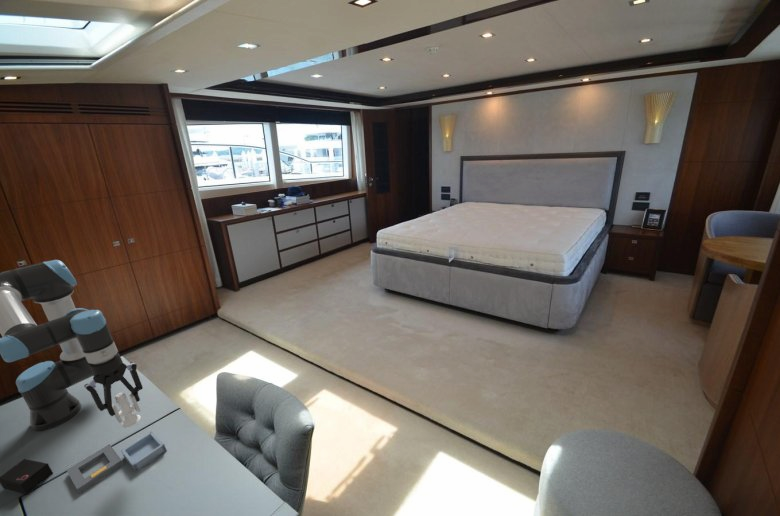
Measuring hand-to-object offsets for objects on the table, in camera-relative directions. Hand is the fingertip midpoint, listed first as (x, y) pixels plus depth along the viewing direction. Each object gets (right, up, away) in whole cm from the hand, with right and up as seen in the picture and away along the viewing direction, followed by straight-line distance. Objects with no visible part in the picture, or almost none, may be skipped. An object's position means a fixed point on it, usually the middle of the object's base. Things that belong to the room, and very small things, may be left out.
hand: (128, 415), depth 113 cm
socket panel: (-12, -19, +2) cm, 23 cm away
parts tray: (+1, -17, +6) cm, 18 cm away
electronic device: (-33, -22, -1) cm, 39 cm away
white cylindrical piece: (0, -3, +1) cm, 3 cm away
